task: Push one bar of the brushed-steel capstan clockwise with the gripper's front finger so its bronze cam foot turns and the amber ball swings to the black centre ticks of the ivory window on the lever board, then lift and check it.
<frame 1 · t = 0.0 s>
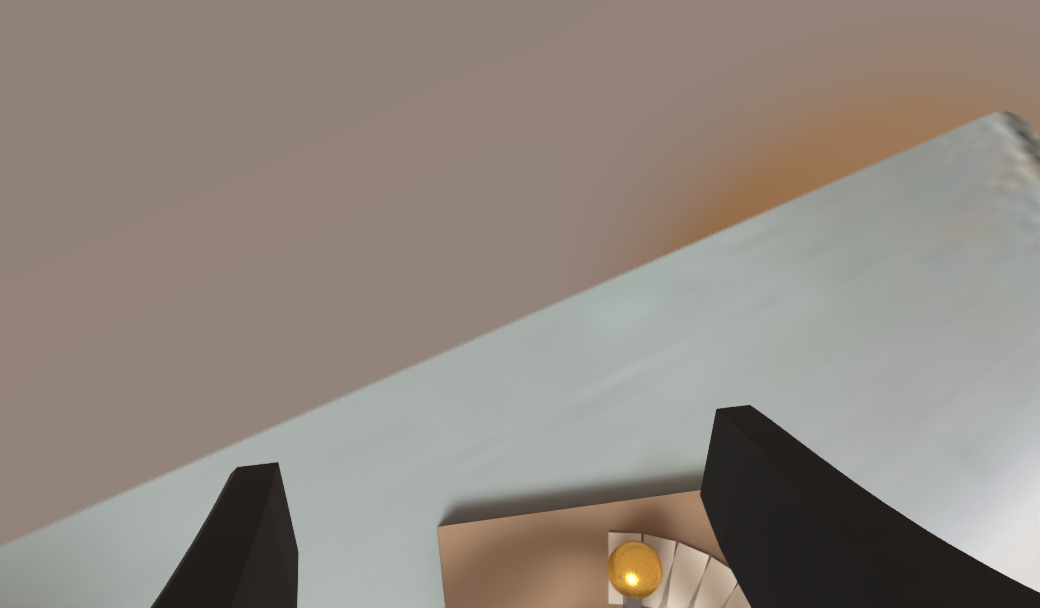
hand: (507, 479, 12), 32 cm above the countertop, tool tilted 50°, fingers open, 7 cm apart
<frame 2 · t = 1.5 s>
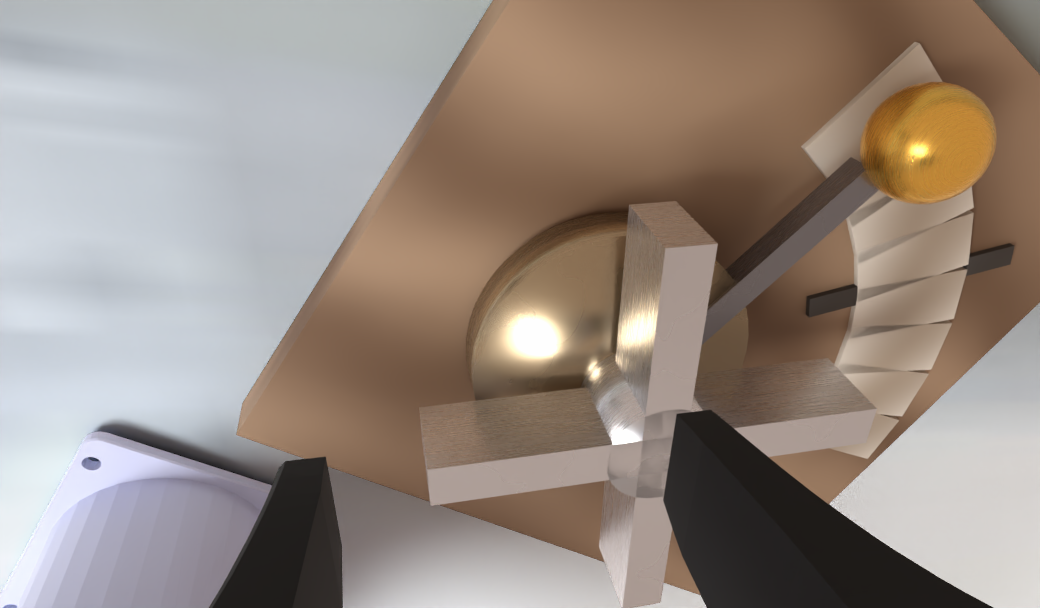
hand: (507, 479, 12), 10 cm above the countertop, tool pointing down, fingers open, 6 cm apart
capstan: (683, 362, 20), point 4 cm above the countertop, hinge at 35.0°
lever board: (697, 286, 24), on the countertop
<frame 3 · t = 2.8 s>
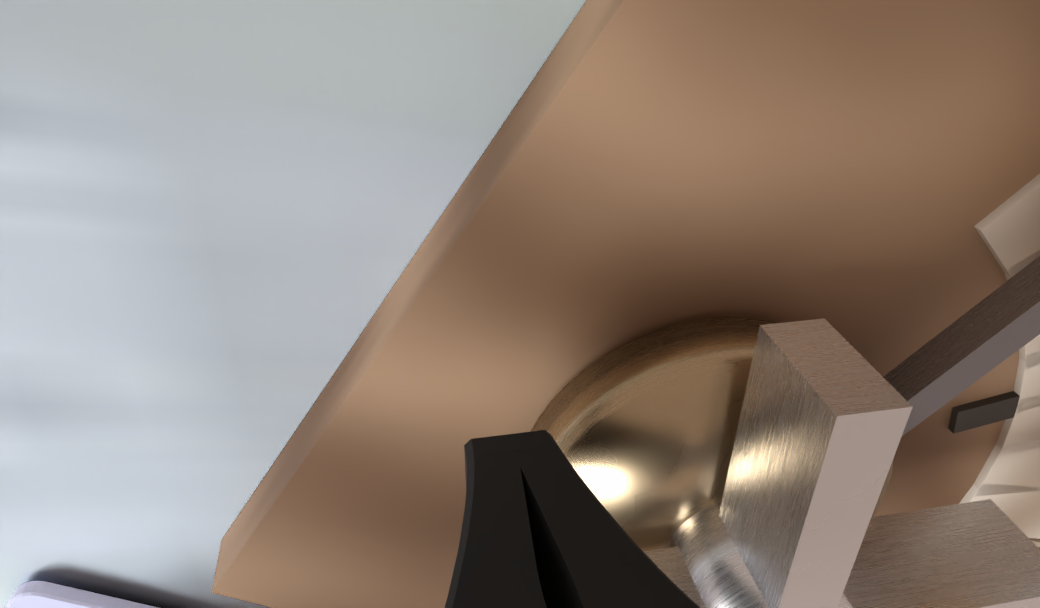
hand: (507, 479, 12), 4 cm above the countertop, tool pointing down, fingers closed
capstan: (810, 516, 15), point 4 cm above the countertop, hinge at 35.0°
lever board: (806, 387, 19), on the countertop
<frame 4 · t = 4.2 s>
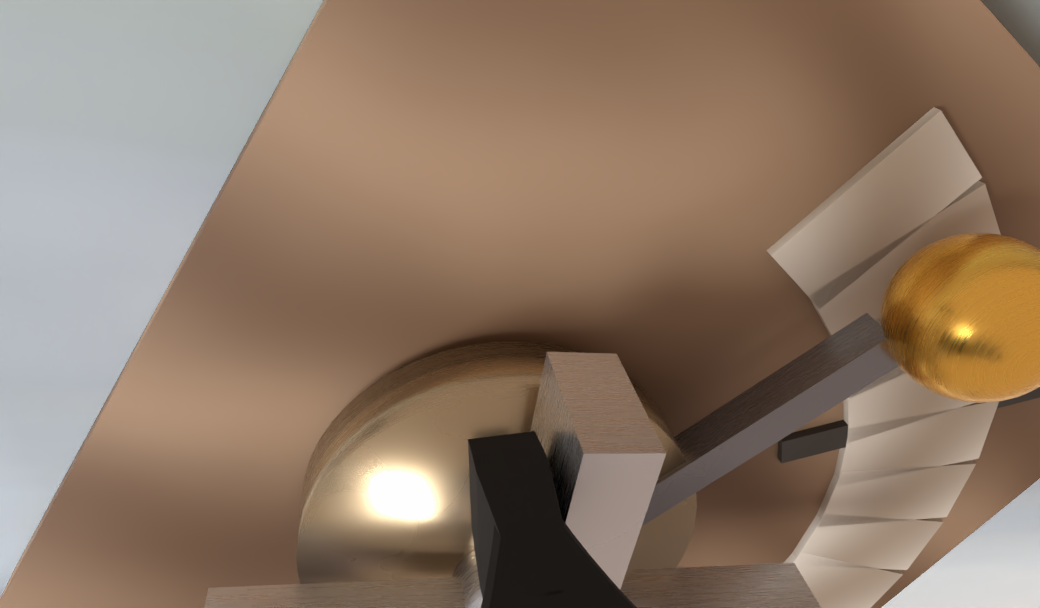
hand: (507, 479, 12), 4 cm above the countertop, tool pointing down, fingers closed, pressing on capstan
capstan: (600, 560, 14), point 4 cm above the countertop, hinge at 26.4°, touching gripper
lever board: (634, 413, 18), on the countertop
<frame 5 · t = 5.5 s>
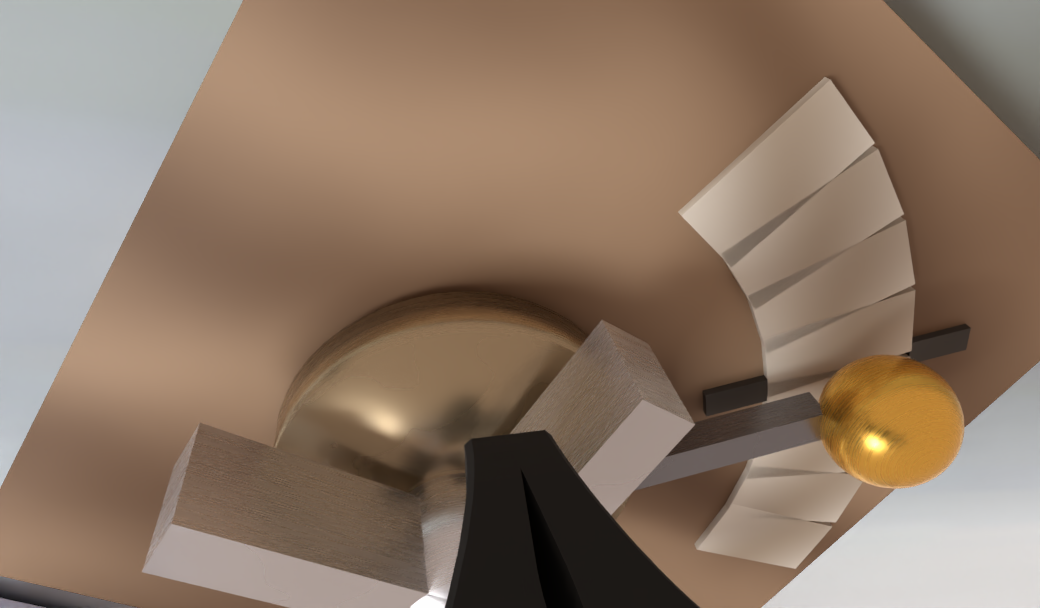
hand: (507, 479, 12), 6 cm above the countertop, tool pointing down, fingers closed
capstan: (541, 521, 16), point 4 cm above the countertop, hinge at 0.7°
lever board: (570, 371, 19), on the countertop
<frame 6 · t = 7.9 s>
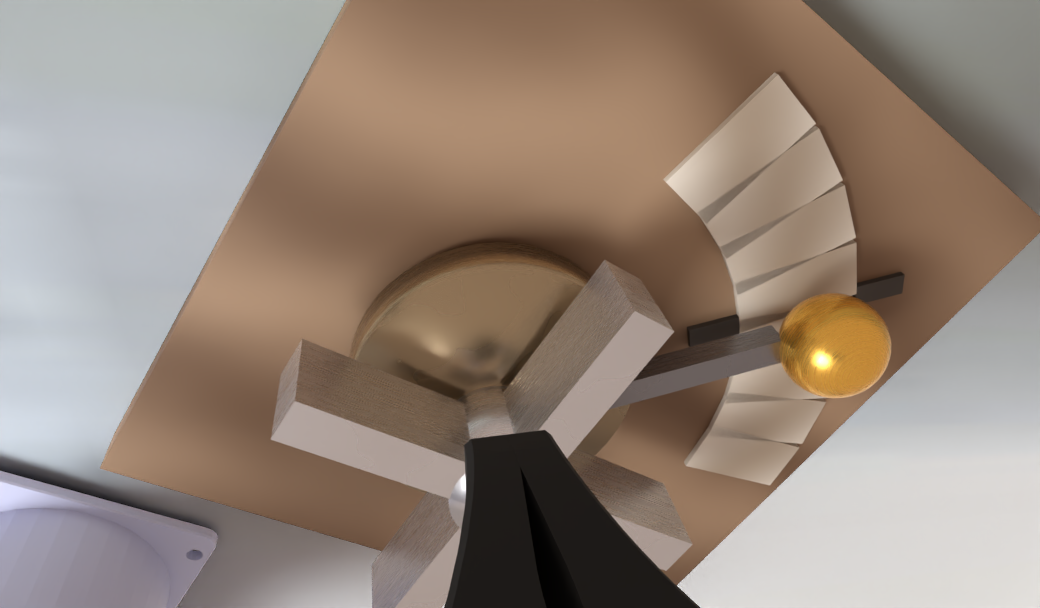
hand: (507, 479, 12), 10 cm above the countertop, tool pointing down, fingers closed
capstan: (558, 425, 20), point 4 cm above the countertop, hinge at 0.6°
lever board: (580, 315, 23), on the countertop
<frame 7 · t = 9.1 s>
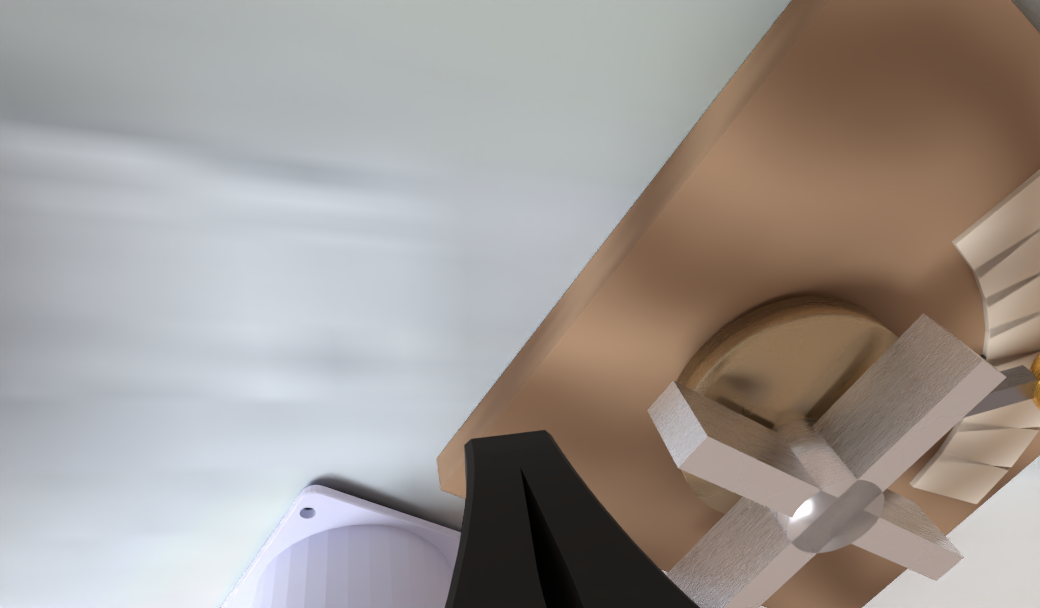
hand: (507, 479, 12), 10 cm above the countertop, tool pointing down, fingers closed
capstan: (853, 452, 23), point 4 cm above the countertop, hinge at 0.6°
lever board: (837, 353, 26), on the countertop
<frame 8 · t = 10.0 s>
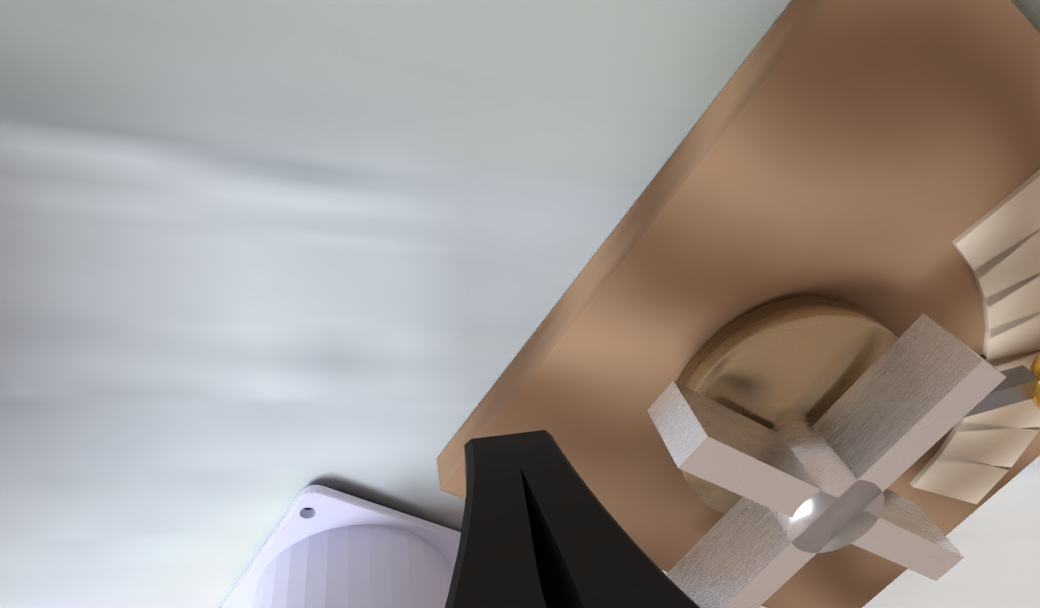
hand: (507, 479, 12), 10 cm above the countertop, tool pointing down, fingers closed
capstan: (853, 452, 23), point 4 cm above the countertop, hinge at 0.6°
lever board: (837, 353, 26), on the countertop
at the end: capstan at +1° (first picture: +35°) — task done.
